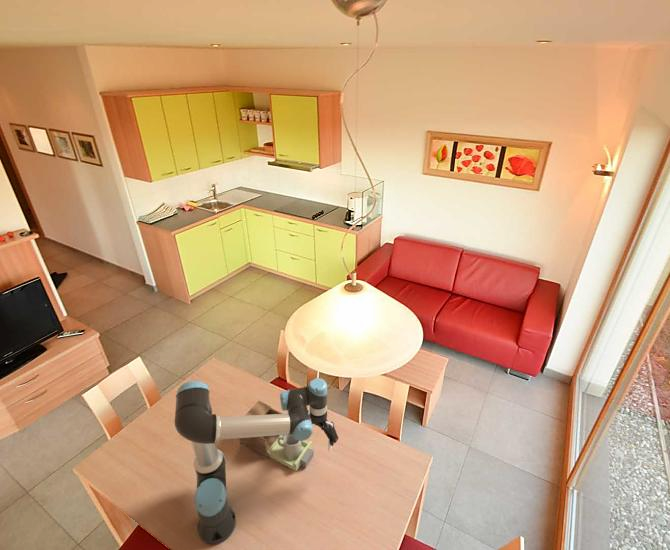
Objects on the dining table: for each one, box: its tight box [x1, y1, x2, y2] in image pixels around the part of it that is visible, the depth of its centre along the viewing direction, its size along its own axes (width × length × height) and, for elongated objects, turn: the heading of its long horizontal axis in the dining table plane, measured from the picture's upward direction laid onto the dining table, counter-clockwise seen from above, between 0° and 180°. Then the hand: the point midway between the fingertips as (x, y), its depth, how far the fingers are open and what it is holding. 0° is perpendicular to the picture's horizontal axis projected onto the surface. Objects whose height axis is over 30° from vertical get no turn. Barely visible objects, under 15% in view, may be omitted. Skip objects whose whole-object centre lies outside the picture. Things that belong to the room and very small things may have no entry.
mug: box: [278, 434, 302, 460], centre depth 189 cm, size 12×8×11 cm
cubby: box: [238, 400, 283, 459], centre depth 195 cm, size 17×17×15 cm
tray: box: [267, 435, 315, 472], centre depth 190 cm, size 14×20×5 cm
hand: (318, 443), depth 177 cm, fingers open, 11 cm apart
